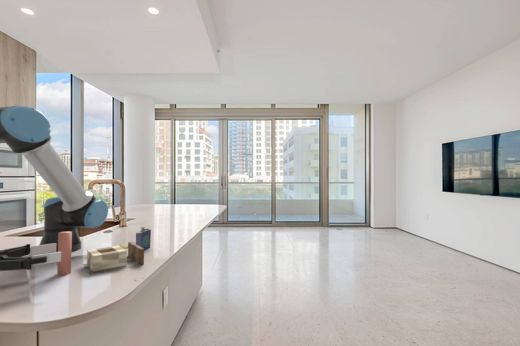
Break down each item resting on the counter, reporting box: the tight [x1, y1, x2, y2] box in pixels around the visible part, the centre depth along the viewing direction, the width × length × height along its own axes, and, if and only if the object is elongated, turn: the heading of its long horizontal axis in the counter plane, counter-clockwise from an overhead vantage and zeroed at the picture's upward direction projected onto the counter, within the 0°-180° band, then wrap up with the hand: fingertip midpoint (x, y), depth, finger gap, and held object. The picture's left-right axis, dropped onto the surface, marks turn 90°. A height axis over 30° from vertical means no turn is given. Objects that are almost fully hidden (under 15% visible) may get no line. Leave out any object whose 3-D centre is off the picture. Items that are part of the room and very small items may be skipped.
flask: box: [135, 226, 152, 251], centre depth 115 cm, size 9×3×11 cm, turn 172°
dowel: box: [56, 231, 72, 276], centre depth 85 cm, size 4×4×14 cm
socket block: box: [86, 245, 128, 272], centre depth 93 cm, size 10×10×5 cm
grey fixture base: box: [82, 241, 145, 276], centre depth 95 cm, size 14×16×6 cm
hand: (58, 251), depth 84 cm, fingers open, 13 cm apart
